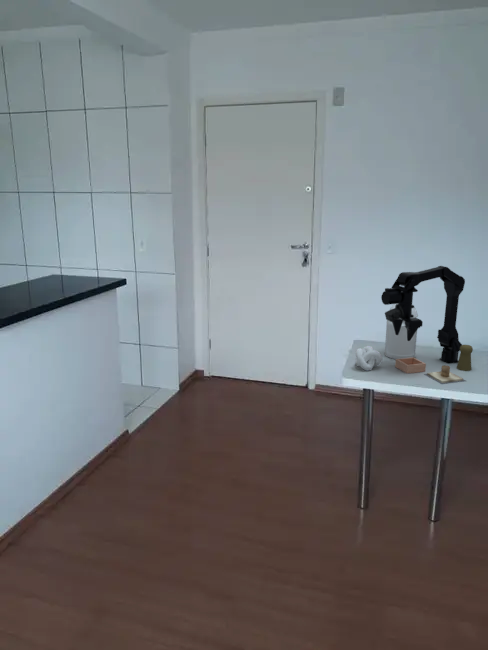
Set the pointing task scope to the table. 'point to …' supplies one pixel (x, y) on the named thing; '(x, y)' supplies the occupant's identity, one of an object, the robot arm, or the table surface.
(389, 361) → the table surface
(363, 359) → the white decorative knot
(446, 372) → the lid
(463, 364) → the olive pestle
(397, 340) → the bottle
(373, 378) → the table surface
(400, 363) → the pink open box
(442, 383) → the mat
